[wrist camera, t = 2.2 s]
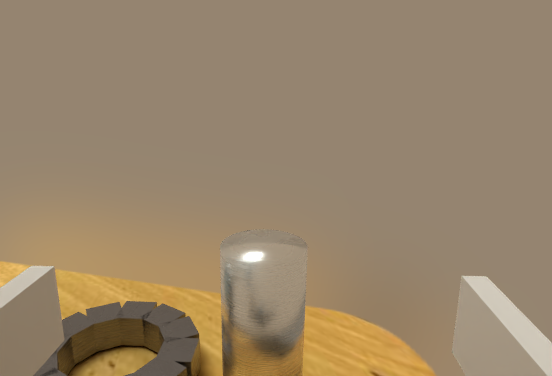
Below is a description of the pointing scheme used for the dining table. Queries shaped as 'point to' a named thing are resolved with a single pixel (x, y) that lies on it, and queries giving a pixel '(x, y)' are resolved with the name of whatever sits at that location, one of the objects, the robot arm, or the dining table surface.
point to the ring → (129, 338)
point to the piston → (263, 303)
